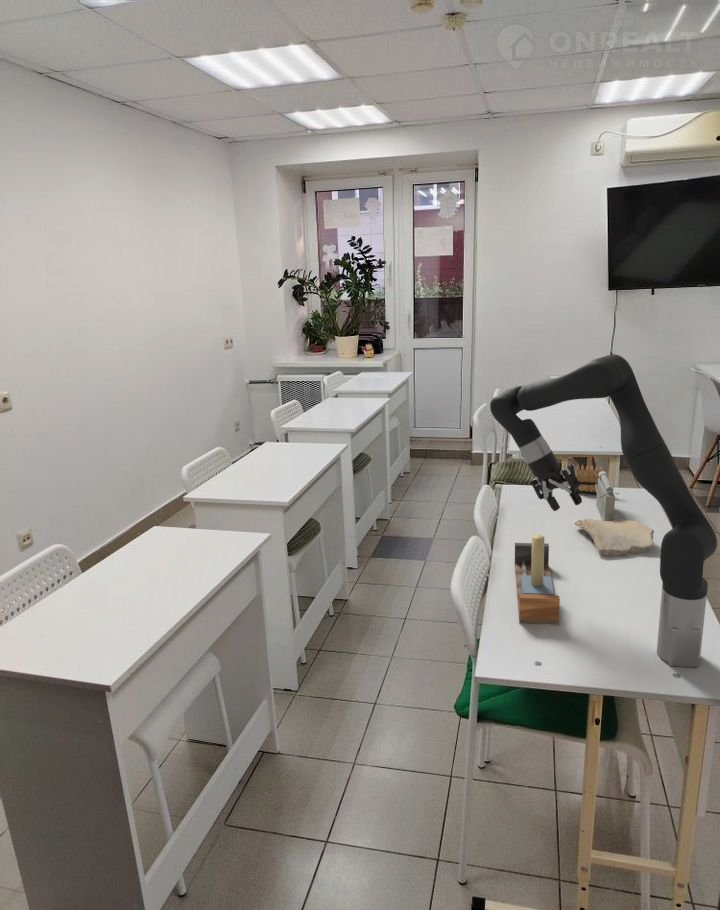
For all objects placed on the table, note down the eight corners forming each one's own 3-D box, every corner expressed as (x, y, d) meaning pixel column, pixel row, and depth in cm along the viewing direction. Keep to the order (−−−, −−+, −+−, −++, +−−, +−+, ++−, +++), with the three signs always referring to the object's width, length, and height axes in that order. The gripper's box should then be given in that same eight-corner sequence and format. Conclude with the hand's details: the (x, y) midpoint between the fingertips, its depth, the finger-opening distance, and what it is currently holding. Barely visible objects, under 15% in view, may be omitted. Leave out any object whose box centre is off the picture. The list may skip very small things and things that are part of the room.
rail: (558, 624, 168) (559, 599, 165) (519, 623, 170) (519, 597, 167) (547, 565, 199) (548, 543, 197) (514, 564, 201) (514, 542, 199)
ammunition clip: (602, 493, 255) (604, 464, 252) (602, 495, 254) (604, 466, 250) (574, 491, 259) (575, 463, 255) (574, 493, 257) (575, 465, 254)
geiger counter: (619, 488, 221) (607, 466, 244) (599, 488, 222) (589, 465, 246) (616, 526, 225) (605, 500, 248) (597, 525, 226) (588, 500, 250)
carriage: (553, 607, 170) (555, 545, 165) (522, 606, 172) (523, 544, 167) (550, 589, 180) (552, 529, 175) (521, 588, 181) (521, 529, 176)
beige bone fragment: (628, 527, 226) (572, 525, 225) (632, 507, 223) (575, 506, 223) (659, 560, 203) (596, 558, 202) (664, 538, 200) (600, 536, 200)
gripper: (564, 442, 172) (595, 495, 172) (529, 456, 185) (558, 505, 184) (547, 455, 168) (578, 508, 168) (513, 467, 181) (542, 517, 181)
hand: (568, 506), depth 176 cm, fingers open, 8 cm apart
